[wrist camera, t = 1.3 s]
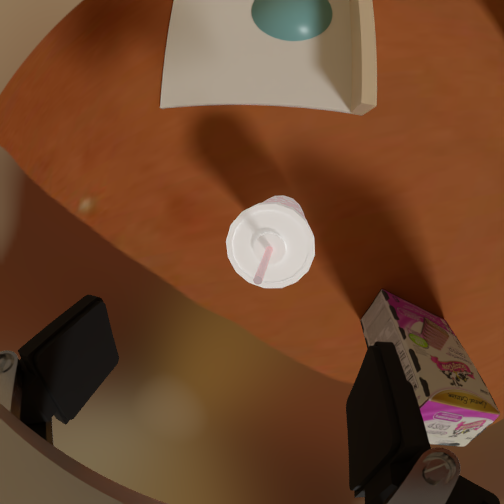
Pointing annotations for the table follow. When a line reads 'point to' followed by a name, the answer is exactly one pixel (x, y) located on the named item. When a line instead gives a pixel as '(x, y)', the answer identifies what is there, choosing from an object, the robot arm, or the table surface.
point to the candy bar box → (433, 369)
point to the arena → (271, 54)
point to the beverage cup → (271, 243)
